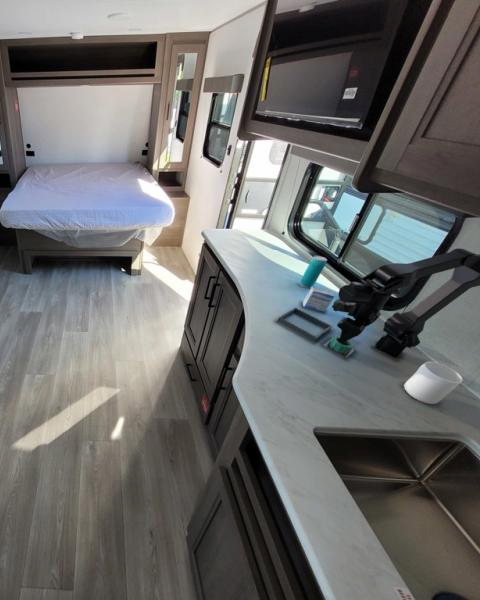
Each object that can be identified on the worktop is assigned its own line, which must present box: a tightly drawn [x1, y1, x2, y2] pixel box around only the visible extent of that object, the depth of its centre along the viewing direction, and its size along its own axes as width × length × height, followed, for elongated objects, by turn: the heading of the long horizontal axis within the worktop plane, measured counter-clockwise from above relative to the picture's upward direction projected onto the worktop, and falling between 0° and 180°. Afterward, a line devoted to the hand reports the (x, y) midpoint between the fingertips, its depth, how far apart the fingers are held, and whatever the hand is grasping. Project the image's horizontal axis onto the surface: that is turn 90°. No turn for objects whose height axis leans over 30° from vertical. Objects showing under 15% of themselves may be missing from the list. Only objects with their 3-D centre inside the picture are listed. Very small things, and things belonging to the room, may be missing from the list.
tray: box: [276, 307, 333, 343], centre depth 122 cm, size 14×13×2 cm
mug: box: [403, 361, 464, 405], centre depth 95 cm, size 12×8×10 cm
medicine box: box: [302, 286, 335, 313], centre depth 131 cm, size 8×4×9 cm, turn 62°
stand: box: [323, 337, 356, 359], centre depth 111 cm, size 8×8×5 cm
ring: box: [329, 335, 355, 354], centre depth 111 cm, size 6×6×3 cm
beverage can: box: [299, 255, 328, 289], centre depth 145 cm, size 6×6×15 cm
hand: (346, 337), depth 109 cm, fingers open, 9 cm apart
